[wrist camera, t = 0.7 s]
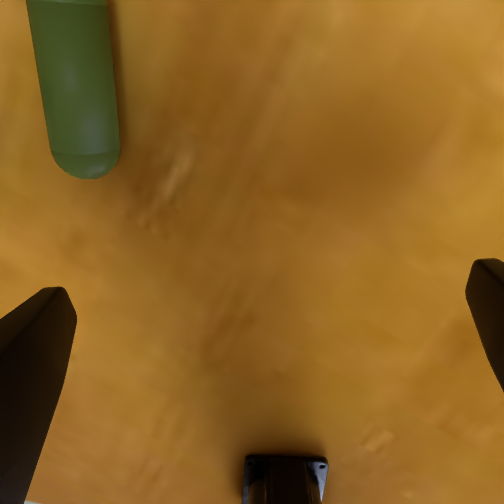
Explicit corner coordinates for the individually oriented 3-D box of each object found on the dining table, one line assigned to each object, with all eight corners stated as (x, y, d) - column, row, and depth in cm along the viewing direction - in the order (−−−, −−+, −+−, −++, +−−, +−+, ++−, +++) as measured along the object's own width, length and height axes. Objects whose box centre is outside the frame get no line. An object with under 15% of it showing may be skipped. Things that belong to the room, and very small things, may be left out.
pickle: (129, 170, 23) (112, 190, 20) (70, 167, 23) (44, 186, 20) (113, -34, 19) (88, -46, 16) (39, -38, 19) (1, -51, 16)
